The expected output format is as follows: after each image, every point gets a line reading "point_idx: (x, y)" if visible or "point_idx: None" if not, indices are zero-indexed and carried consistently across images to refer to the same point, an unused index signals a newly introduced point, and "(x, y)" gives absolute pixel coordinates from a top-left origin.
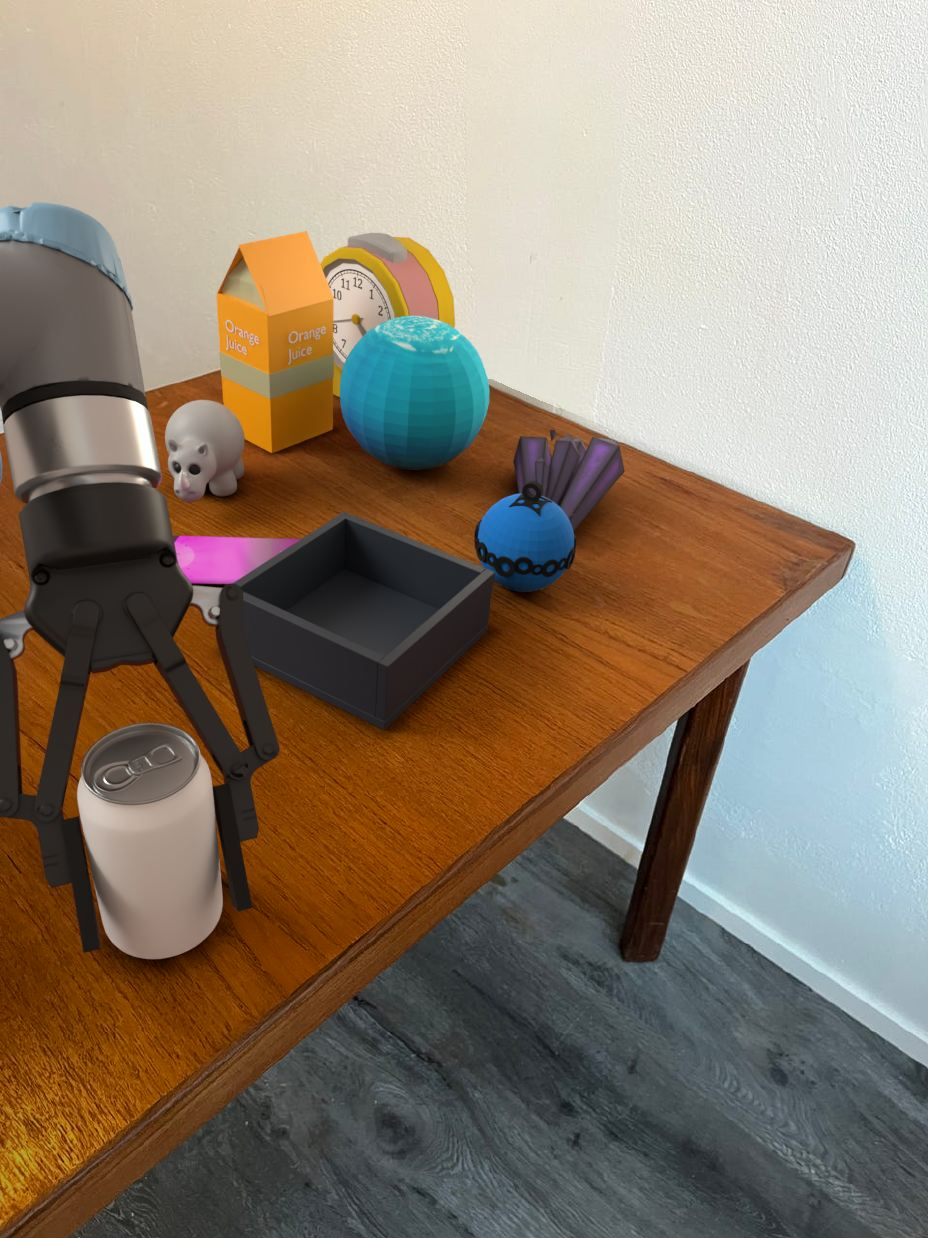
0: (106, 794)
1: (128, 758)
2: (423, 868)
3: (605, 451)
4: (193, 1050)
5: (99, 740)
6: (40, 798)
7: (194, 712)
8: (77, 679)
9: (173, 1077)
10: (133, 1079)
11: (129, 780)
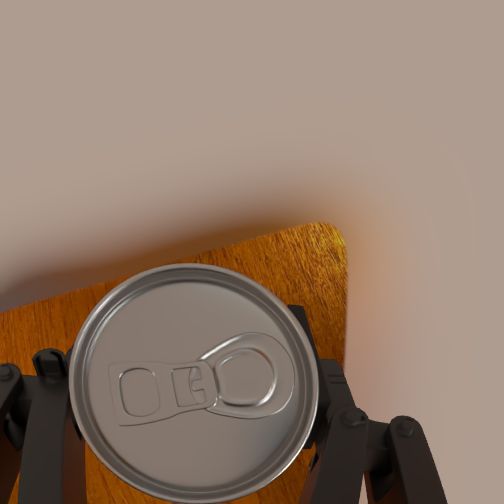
0: (277, 334)
1: (211, 421)
2: (11, 321)
3: None
4: (225, 258)
5: (262, 482)
6: (361, 432)
7: (53, 473)
8: None
9: (243, 246)
10: (270, 257)
11: (225, 354)
